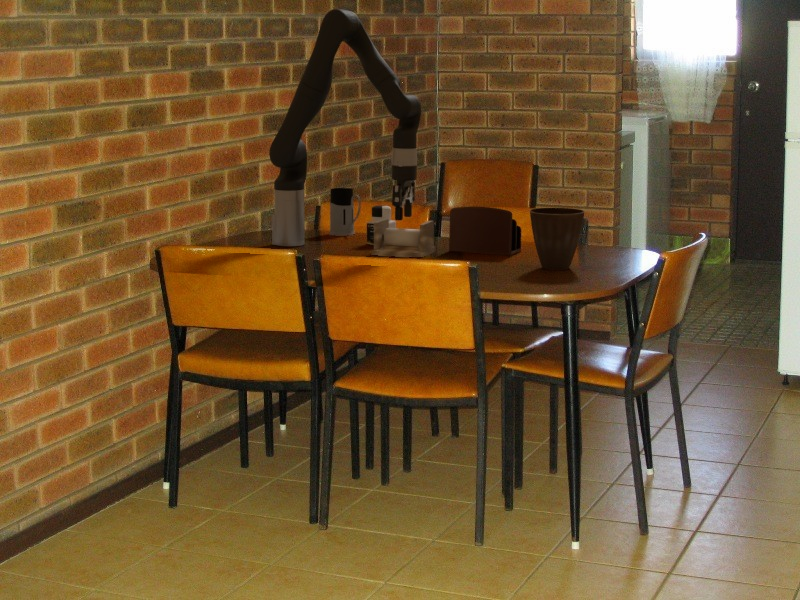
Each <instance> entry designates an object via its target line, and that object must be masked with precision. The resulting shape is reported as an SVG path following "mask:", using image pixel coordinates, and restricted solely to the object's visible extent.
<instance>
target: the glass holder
mask: <svg viewBox="0 0 800 600" xmlns="http://www.w3.org/2000/svg"><path fill="white" fill-rule="evenodd" d="M355 197H357V199H358V210H357V213H356V216H355V215H354V214H355V206H354V198H355ZM329 202H330V203H329V224H330V225H329V226H330V227H329V228H330V230H329V233H328V235H330V236H334V235H335V236H336V237H339V236H340V237H346V236H347V235H350V236H354V235H353V234H355V235H356V232H355V222H356V221H357V220H358V218H359V216H360V213H361V207H362V205H361V204H362V201H361V197H360V196H359V195H358V194H354V189H353V188H348V187H334V188H333V187H332V188H330V201H329ZM347 237H348V236H347Z"/></svg>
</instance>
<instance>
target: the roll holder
mask: <svg viewBox="0 0 800 600" xmlns="http://www.w3.org/2000/svg"><path fill="white" fill-rule="evenodd" d="M434 227H435V222H434V220H428V221H425V222H423V223H420V224H419V230H420V247H402V246H386V245H385V243H384V233H385V230H386V228H389V219H383V220H380V221H377V222H374V245H373V249H372V250H371V256H372V255H378V256H377V257H391V256H395V257H396V258H409V257H423V258H425V257H427V256H429V255H431V254H434V253H435V252H436V246H435V244H434V242H435V241H434V238H435V237H434V235H435V234H434V233H435V231H434V229H435V228H434ZM424 256H425V257H424ZM395 257H394V258H395Z"/></svg>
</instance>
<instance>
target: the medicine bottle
mask: <svg viewBox="0 0 800 600" xmlns="http://www.w3.org/2000/svg"><path fill="white" fill-rule="evenodd" d="M383 219H389V228H397V220H395V219H393V220H392V208H391V206H388V205H381V204H379V205H374V206H372V207H371V220H370V221H367V222H366V245H367V244H370V245H369V246H371V245H372V246H374V222H377V221H380V220H383Z"/></svg>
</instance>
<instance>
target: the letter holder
mask: <svg viewBox="0 0 800 600" xmlns="http://www.w3.org/2000/svg"><path fill="white" fill-rule="evenodd" d="M448 241H449V242H448V251H449V252H453V253H454V252H456V253H468V254H480V255H481V254H483V255H497V256H498V255H499V256H513V255H516V254H518V253H519V252H521V251H522V228H521V226H520V225H518V222H517V220H516V219H514V218H513V212H512V211H510V210H506V209H503V208H502V209H501V208H497V207H496V208H495V207H489V206H488V207H487V206H461V207H460V206H459V207H452V208H451V209H450V211H449V239H448Z"/></svg>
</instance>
